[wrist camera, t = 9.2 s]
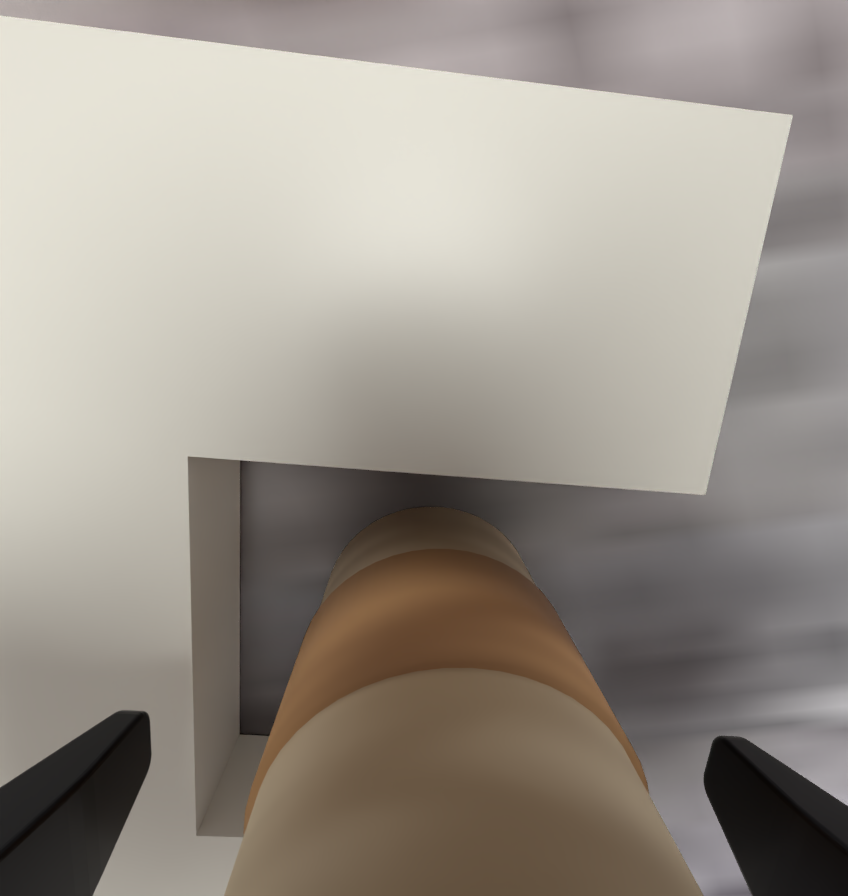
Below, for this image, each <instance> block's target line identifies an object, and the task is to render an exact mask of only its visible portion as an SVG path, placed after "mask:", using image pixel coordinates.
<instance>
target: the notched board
mask: <svg viewBox="0 0 848 896" xmlns="http://www.w3.org/2000/svg"><path fill="white" fill-rule="evenodd" d="M792 117H793V115H787V114H779V113H771V112H763V111H755V110H747V109H739V108H731V107H723V106H715V105H707V104H699V103H691V102H683V101H675V100H667V99H659V98H652V97H644V96H636V95H628V94H620V93H612V92H604V91H596V90H588V89H580V88H572V87H564V86H556V85H548V84H540V83H532V82H524V81H516V80H508V79H500V78H492V77H484V76H476V75H468V74H460V73H452V72H445V71H437V70H429V69H421V68H413V67H405V66H397V65H389V64H381V63H373V62H365V61H357V60H349V59H341V58H333V57H325V56H317V55H309V54H301V53H293V52H285V51H277V50H269V49H261V48H253V47H246V46H238V45H230V44H222V43H214V42H206V41H198V40H190V39H182V38H174V37H166V36H158V35H150V34H142V33H134V32H126V31H118V30H110V29H102V28H94V27H86V26H78V25H70V24H62V23H54V22H46V21H39V20H31V19H23V18H15V17H7V16H0V787H1V786H3V785H4V784H6V783H8V782H9V781H11V780H12V779H14V778H15V777H17V776H18V775H20V774H21V773H23V772H24V771H26V770H27V769H29V768H31V767H32V766H34V765H35V764H37V763H38V762H40V761H41V760H43V759H44V758H46V757H47V756H49V755H50V754H52V753H54V752H55V751H57V750H58V749H60V748H61V747H63V746H64V745H66V744H67V743H69V742H70V741H72V740H73V739H75V738H77V737H78V736H80V735H81V734H83V733H84V732H86V731H87V730H89V729H90V728H92V727H93V726H95V725H96V724H98V723H100V722H101V721H103V720H104V719H106V718H107V717H109V716H110V715H112V714H114V713H115V712H117V711H120V710H136V711H145V712H147V713H148V715H149V718H150V731H151V752H152V755H151V763H150V767H149V770H148V773H147V775H146V778H145V780H144V782H143V784H142V787H141V789H140V791H139V793H138V796H137V798H136V800H135V802H134V805H133V807H132V809H131V811H130V814H129V816H128V818H127V820H126V823H125V825H124V827H123V829H122V832H121V834H120V836H119V839H118V841H117V843H116V845H115V848H114V850H113V852H112V854H111V857H110V859H109V861H108V863H107V866H106V868H105V870H104V872H103V875H102V877H101V879H100V881H99V883H98V885H97V888H96V890H95V892H94V894H93V896H224V894H225V891H226V888H227V885H228V882H229V879H230V876H231V873H232V870H233V867H234V864H235V861H236V858H237V855H238V852H239V849H240V846H241V843H242V840H243V837H244V834H243V830H244V819H245V809H246V805H247V801H248V798H249V794H250V790H251V787H252V784H253V781H254V778H255V775H256V772H257V770H258V767H259V764H260V761H261V758H262V755H263V753H264V750H265V747H266V744H267V741H268V738H269V736H259V735H240V460H243V461H256V462H270V463H283V464H297V465H310V466H323V467H337V468H350V469H363V470H377V471H390V472H403V473H417V474H430V475H443V476H457V477H470V478H484V479H497V480H510V481H524V482H537V483H550V484H564V485H577V486H590V487H604V488H617V489H630V490H644V491H657V492H670V493H684V494H697V495H705V494H706V490H707V486H708V481H709V477H710V473H711V468H712V464H713V460H714V455H715V451H716V447H717V442H718V438H719V434H720V429H721V425H722V421H723V416H724V412H725V408H726V403H727V399H728V395H729V390H730V386H731V382H732V377H733V373H734V369H735V364H736V360H737V356H738V351H739V347H740V343H741V338H742V334H743V330H744V325H745V321H746V317H747V312H748V308H749V304H750V299H751V295H752V291H753V286H754V282H755V278H756V273H757V269H758V265H759V260H760V256H761V252H762V247H763V243H764V239H765V234H766V230H767V226H768V221H769V217H770V213H771V208H772V204H773V199H774V195H775V191H776V186H777V182H778V178H779V173H780V169H781V165H782V160H783V156H784V152H785V147H786V143H787V139H788V134H789V130H790V126H791V121H792Z"/></svg>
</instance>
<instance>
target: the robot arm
mask: <svg viewBox="0 0 848 896" xmlns="http://www.w3.org/2000/svg"><path fill="white" fill-rule="evenodd" d="M151 755H152V752H151V731H150V718H149V715H148V713H147V712H145V711H136V710H120V711H117V712H115V713H114V714H112V715H110V716H109V717H107V718H106V719H104V720H103V721H101V722H100V723H98V724H96V725H95V726H93V727H92V728H90V729H89V730H87V731H86V732H84V733H83V734H81V735H80V736H78V737H77V738H75V739H73V740H72V741H70V742H69V743H67V744H66V745H64V746H63V747H61V748H60V749H58V750H57V751H55V752H54V753H52V754H50V755H49V756H47V757H46V758H44V759H43V760H41V761H40V762H38V763H37V764H35V765H34V766H32V767H31V768H29V769H27V770H26V771H24V772H23V773H21V774H20V775H18V776H17V777H15V778H14V779H12V780H11V781H9V782H8V783H6V784H4V785H3V786H1V787H0V896H93V894H94V892H95V890H96V888H97V885H98V883H99V881H100V879H101V877H102V875H103V872H104V870H105V868H106V866H107V863H108V861H109V859H110V857H111V854H112V852H113V850H114V848H115V845H116V843H117V841H118V839H119V836H120V834H121V832H122V829H123V827H124V825H125V823H126V820H127V818H128V816H129V814H130V811H131V809H132V807H133V805H134V802H135V800H136V798H137V796H138V793H139V791H140V789H141V787H142V784H143V782H144V780H145V778H146V775H147V773H148V770H149V767H150V763H151ZM704 787H705V790H706V793H707V796H708V798H709V801H710V803H711V805H712V807H713V810H714V812H715V814H716V816H717V818H718V821H719V823H720V825H721V827H722V830H723V832H724V834H725V836H726V839H727V841H728V843H729V845H730V847H731V850H732V852H733V854H734V856H735V859H736V861H737V863H738V865H739V867H740V870H741V872H742V874H743V876H744V879H745V881H746V883H747V885H748V888H749V890H750V892H751V894H752V896H848V806H847V805H845V804H844V803H842V802H841V801H839V800H838V799H836V798H835V797H833V796H832V795H830V794H829V793H827V792H826V791H824V790H822V789H821V788H819V787H818V786H816V785H815V784H813V783H812V782H810V781H809V780H807V779H806V778H804V777H803V776H801V775H800V774H798V773H797V772H795V771H794V770H792V769H791V768H789V767H788V766H786V765H785V764H783V763H782V762H780V761H779V760H777V759H776V758H774V757H772V756H771V755H769V754H768V753H766V752H765V751H763V750H762V749H760V748H759V747H757V746H756V745H754V744H753V743H751V742H750V741H748V740H747V739H745V738H742V737H737V736H718V737H716V738H715V739H714V740H713V742H712V746H711V749H710V753H709V757H708V761H707V764H706V768H705V772H704Z"/></svg>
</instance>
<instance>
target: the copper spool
mask: <svg viewBox="0 0 848 896" xmlns="http://www.w3.org/2000/svg"><path fill="white" fill-rule="evenodd" d="M243 834H244V837H243V840H242V843H241V846H240V849H239V852H238V855H237V858H236V861H235V864H234V867H233V870H232V873H231V876H230V879H229V882H228V885H227V888H226V891H225V894H224V896H703V894H702V892H701V890H700V888H699V886H698V885H697V883H696V881H695V879H694V877H693V875H692V874H691V872H690V870H689V868H688V866H687V864H686V862H685V861H684V859H683V857H682V855H681V853H680V851H679V850H678V848H677V846H676V844H675V842H674V840H673V838H672V837H671V835H670V833H669V831H668V829H667V827H666V825H665V824H664V822H663V820H662V818H661V816H660V814H659V813H658V811H657V809H656V807H655V805H654V803H653V801H652V800H651V798H650V796H649V791H648V785H647V781H646V778H645V775H644V772H643V769H642V766H641V763H640V761H639V759H638V757H637V755H636V753H635V751H634V749H633V747H632V746H631V744H630V742H629V740H628V738H627V737H626V735H625V733H624V731H623V729H622V728H621V726H620V724H619V722H618V721H617V719H616V717H615V715H614V713H613V712H612V710H611V708H610V706H609V705H608V703H607V701H606V699H605V698H604V696H603V694H602V692H601V690H600V689H599V687H598V685H597V683H596V682H595V680H594V678H593V676H592V674H591V673H590V671H589V669H588V667H587V666H586V664H585V662H584V660H583V659H582V657H581V655H580V653H579V651H578V650H577V648H576V646H575V644H574V643H573V641H572V639H571V637H570V635H569V634H568V632H567V630H566V628H565V627H564V625H563V623H562V621H561V620H560V618H559V616H558V614H557V612H556V611H555V609H554V607H553V606H552V604H551V603H550V602H549V600H548V599H547V598H546V596H545V595H544V594H543V593H542V592H541V591H540V590H539V589H538V588H537V587H536V585H535V583H534V581H533V580H532V578H531V576H530V574H529V572H528V570H527V568H526V567H525V565H524V563H523V561H522V559H521V557H520V556H519V554H518V552H517V550H516V549H515V548H514V546H513V545H512V544H511V542H510V541H509V540H508V539H507V538H506V537H505V536H504V535H503V534H502V533H501V532H500V531H499V530H497V529H496V528H495V527H494V526H492V525H491V524H489V523H488V522H486V521H484V520H482V519H481V518H479V517H477V516H474V515H472V514H469V513H467V512H463V511H460V510H456V509H452V508H444V507H418V508H410V509H406V510H402V511H398V512H395V513H393V514H390V515H387V516H385V517H383V518H381V519H379V520H377V521H375V522H373V523H372V524H370V525H369V526H367V527H366V528H365V529H363V530H362V531H361V532H360V533H359V534H357V535H356V536H355V537H354V538H353V539H352V540H351V541H350V542H349V544H348V545H347V546H346V547H345V549H344V550H343V551H342V553H341V555H340V556H339V558H338V559H337V561H336V563H335V566H334V568H333V570H332V572H331V575H330V578H329V581H328V584H327V587H326V590H325V593H324V596H323V599H322V602H321V605H320V607H319V609H318V611H317V612H316V614H315V616H314V617H313V619H312V620H311V622H310V625H309V627H308V629H307V632H306V634H305V636H304V639H303V642H302V645H301V648H300V650H299V653H298V656H297V659H296V662H295V665H294V668H293V670H292V673H291V676H290V679H289V682H288V685H287V687H286V690H285V693H284V696H283V699H282V702H281V704H280V707H279V710H278V713H277V716H276V719H275V721H274V724H273V727H272V730H271V733H270V736H269V738H268V741H267V744H266V747H265V750H264V753H263V755H262V758H261V761H260V764H259V767H258V770H257V772H256V775H255V778H254V781H253V784H252V787H251V790H250V794H249V798H248V801H247V805H246V809H245V819H244V830H243Z"/></svg>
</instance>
